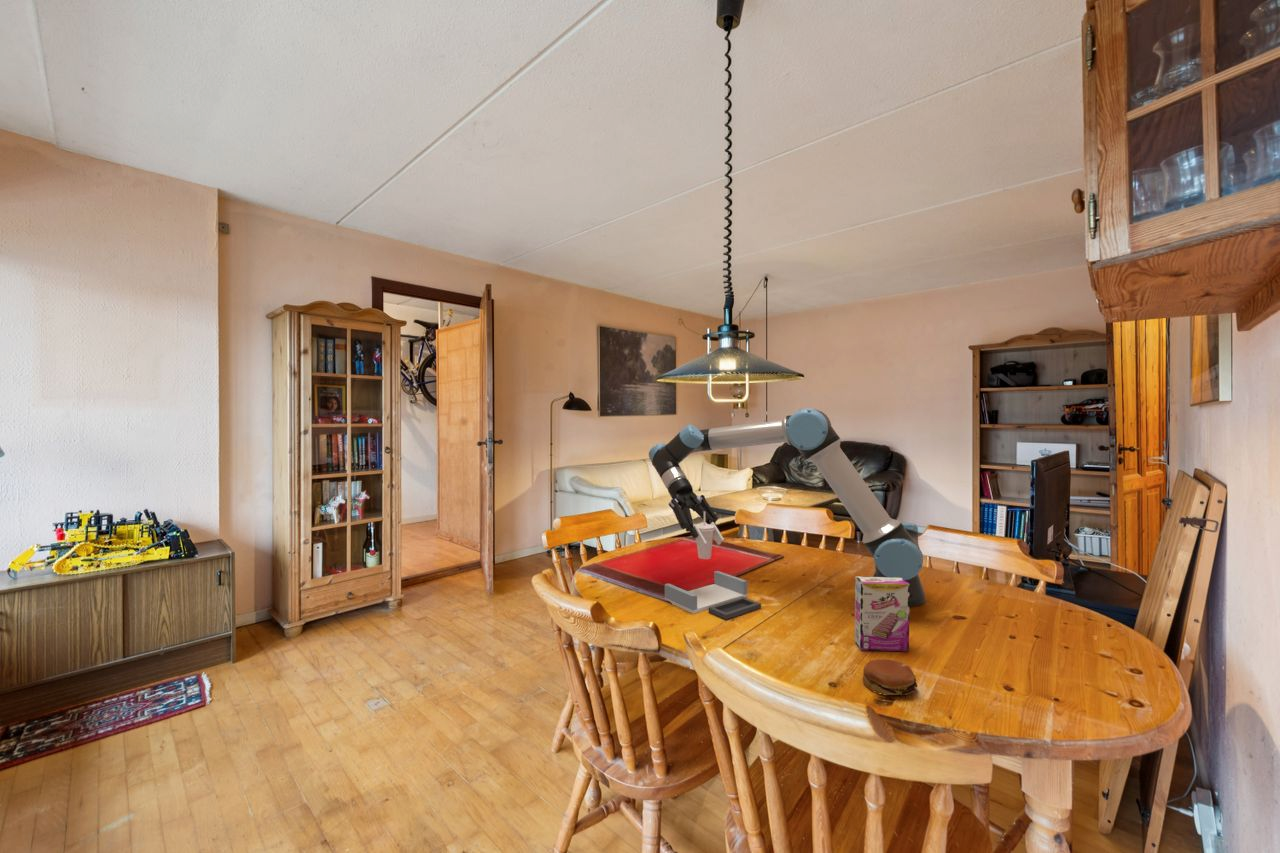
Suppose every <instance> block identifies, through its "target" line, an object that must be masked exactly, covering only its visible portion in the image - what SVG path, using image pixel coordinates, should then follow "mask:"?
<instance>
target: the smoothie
mask: <svg viewBox="0 0 1280 853" xmlns="http://www.w3.org/2000/svg"><path fill="white" fill-rule="evenodd" d="M696 525H697V527H698V528H699V530H700V532H701V534H702V535H703V537H704V539H705V540H706V542H707V544H706V545H705V546H704V547H703V548H700V546H699V544H698V543H697V541H696V540H695V541H696V542H695V543H696V547H697V548H696V549H697V556H698V558H699V559H701V560H710V559H712V550H713V548H712V547H713V539H714V537H713V532H714V530H715V526H714V525H710V524H707V523H706V522H705V512H704V520H703V523H700V524H696Z"/></svg>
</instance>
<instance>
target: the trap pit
mask: <svg viewBox="0 0 1280 853" xmlns="http://www.w3.org/2000/svg"><path fill="white" fill-rule="evenodd" d="M708 608H709V609H708V614H710V615H713V616H715V617H718V618H720V619H722V620H725V621H729V620H732V619H734V618H737V617H740V616H743V615H746V614H751V613H752V612H755V611H758V609H759V610H761V609H762V604H761V602H758V601H755V600H752V599H750V598H748V597H746V598H745V597H741V598H737V599H734V600H731V601H728V602H725V603H721V604H718V605H715V606H712V607H708Z"/></svg>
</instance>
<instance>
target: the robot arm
mask: <svg viewBox="0 0 1280 853" xmlns="http://www.w3.org/2000/svg"><path fill="white" fill-rule="evenodd" d="M841 442H842V439H841V438H840V436H839V435H838V433H837V432H836V431H835V429H834V427H833V426H832V423H831V420H830V419H829V417H828V416H827V414H825V413H824V412H823V411H820V410H818V409H813V408H809V407H808V408H801V409H799V410H797V411H795V412H794V413H793V414H791V415H786V416H784V417H783V419H775V420H769V421H761V422H752V423H745V424H744V423H743V424H736V425H730V426H729V425H728V426H722V427H721V426H720V427H714V428H707V429H706V428H705V429H698V427H696V426H695V425H693V424H688V425H686V426H685V427H684V428H682V429H681V430H680V432H678V433H677V434H676V435H675V436H674V437H673V438H672V439H670V441H669V442H668V443H664V442H663V443H661V442H660V443H657V444H656V445H654V446H652V447H651V448H650V450H649V451H648V458H649V460H650V461H651V464H652V466H653V467H654V469H655V470H656V473H657V475H658V476H659V478H660V480H661V481H662V483H663V486H664V487H665V488H666V489H667V492H668V494H669V495H670V497H671V499H670V501H669V503H668V506H669V508H671V510H672V512H673V513H674V516H675V518H676V520H677V522H678V523H679V526H680V528H681V529H682V530H685V531H686V532H689V533H690V535H691V537H692V538H693V539H695V541H697V542H696V544H697V543H698V544H699V546H700V548H703V547H704V546H705V545H706V544H707V542H706V540H705V539H704V537H703V535H702V534H701V532H700V530H699V528H698V527H697V524H694V521H693V520H694V519H693V517H692V516H693V515H692V513H691V510H692V511H693V512H695V513H696V514H697V515H698V516H699V517H700V518H701V519H702V521H704V512H705V524H710V525H714V526H715V530H714V532H713V539H714V541H715V542H716V544H717V546H720V545H721V544H722V542H723V541H724V540H725V539H724V537H723V535H722V534H721V532H720V531H721V530H720V529H719V527H718V525H717V524H716V523H717V521H718V520H719V517H718V516H717V514H716V513H715V511H714V510H713V508H712V507H711V506H710V504H709V503H708V502H707V499H706V497H705V495H704V494H701V495H696V493H695V492H694V490H693V489H694V488H693V485H692V484H691V483H690V481H689V479H688V478H687V475H686V474H685V473H684V470H682V468H681V466H680V463H681V462H683V461H684V460H685V459H686V458H687V457H689V455H690V454H693V453H697V452H698V453H699V452H706V451H715V450H724V449H725V450H726V449H733V448H736V449H737V448H744V447H745V448H746V447H753V446H763V445H764V446H765V445H771V444H773V445H775V444H781V443H783V444H784V443H786V444H788V445H789V446H793V447H795V448H796V449H797V450H798V451H799V453H800V454H801V456H802V457H803V459H804V460H805V462H810V463H813V464H814V465H815V467H816V468H817V469H818V471H819V472H820V474H821V476H822V477H823V479H825V481H826V483H827V484H828V486H829V487H830V488H831V489H832V491H833V492H834V494H835V495H836V497H837V498H838V500H839V502H841V504H842V505H843V507H844V508H845V509H846V511H847V512H848V514H849V515H850V517H851V519H852V520H853V521H854V522H855V524H856V525H857V527H858V528H859V529H860V531H861V533H862V534H863V535H862V540H861V542H862V543H863V545H864V546H865V548H866V549H867V551H868V552H869V554H870V555H871V557H872V558H873V561H874V564H875V566H874V567H875V568H874V569H875V570H874V573H873V575H872V577H896V578H902V579H904V580H905V581H906V582H908V583H909V584H910V595H909V607H919V606H921V605H924V604H925V603H926V593H925V589H924V588H923V584H922V581H921V579H920V576H919V573H920V571H921V570H922V568H923V564H924V555H923V552H922V550H921V548H920V545H919V533H920V532H919V528H918V526H917V524H915V523H912V522H906V521H903V522H902V521H900V520H899V519H898V520H897V519H894V518H891V517H890V515H889V514H888V512H887V511H886V509H885V508H884V507H883V505H882V504H881V503H880V501H879V500H878V498H877V497H876V495H875V494H874V493H873V492H872V490H871V489H870V487H869V486H868V484H867V483H866V482H865V480H864V479H863V478H862V476H861V474H860V473H859V472H858V470H857V469H856V468H855V466H854V465H853V463H852V462H851V461H850V459H849V458H848V456H847V455H846V454H845V453H844V451H843V450H842V448H841Z"/></svg>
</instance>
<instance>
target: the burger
mask: <svg viewBox="0 0 1280 853" xmlns="http://www.w3.org/2000/svg"><path fill="white" fill-rule="evenodd" d="M862 672H863V674H862V682H863V684H864V685H865V687H866V688H867V689H869V688H870V689H871V690H873V691H875V692H877V693H876V694H878V693H881V694H886V695H885V696H887V695H906V696H908V695H911V694H912V693H914V691H916V689H917V688H918V684H917V682H916V681H917V678H916V675H915V674H914V671H913V669H912V668H911V667H910V666H909V665H907V664H906V663H903V662H901V661H897V660H894V659H893V660H892V659H887V658H886V659H885V658H883V659H882V658H881V659H880V658H878V659H873V660H870V661H868V662H867V663H865V665H864V667H863V671H862ZM870 689H869V690H870ZM871 690H870V691H871ZM873 691H872V692H873ZM875 692H874V693H875ZM881 694H880V695H881ZM907 694H908V695H907Z"/></svg>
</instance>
